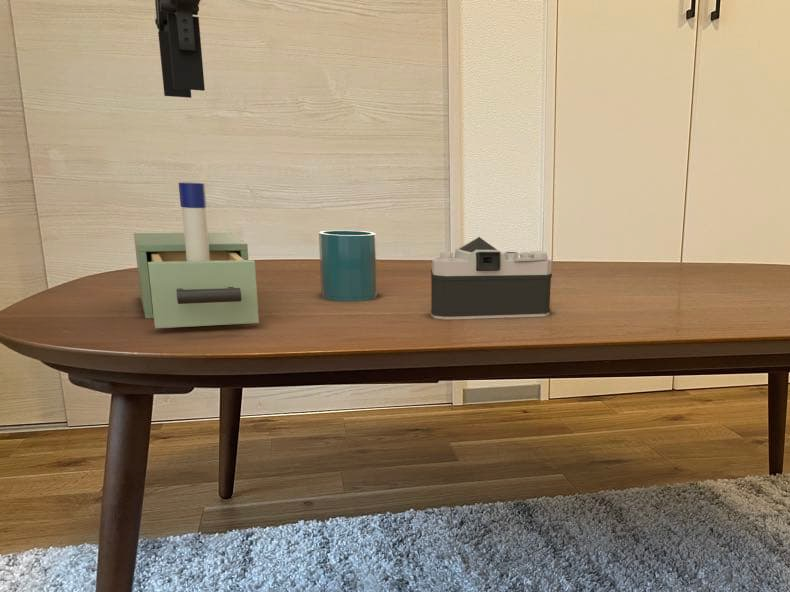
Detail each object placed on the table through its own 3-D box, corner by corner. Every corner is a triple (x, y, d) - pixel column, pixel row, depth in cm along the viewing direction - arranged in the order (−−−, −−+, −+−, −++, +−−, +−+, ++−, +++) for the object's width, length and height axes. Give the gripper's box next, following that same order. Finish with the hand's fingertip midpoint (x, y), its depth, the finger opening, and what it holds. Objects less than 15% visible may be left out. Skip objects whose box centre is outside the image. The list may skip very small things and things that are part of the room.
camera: (533, 307, 108) (536, 233, 105) (557, 319, 100) (561, 240, 97) (420, 310, 102) (420, 232, 99) (437, 323, 94) (437, 239, 91)
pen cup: (329, 304, 103) (326, 235, 101) (316, 295, 109) (313, 230, 107) (383, 302, 107) (382, 235, 104) (368, 293, 113) (366, 230, 110)
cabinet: (252, 315, 94) (247, 243, 92) (145, 320, 89) (137, 244, 86) (236, 297, 106) (231, 232, 103) (141, 300, 100) (133, 233, 98)
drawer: (265, 330, 82) (261, 266, 80) (157, 337, 78) (150, 268, 76) (242, 303, 96) (238, 248, 94) (149, 307, 92) (143, 249, 90)
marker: (191, 309, 86) (179, 183, 82) (188, 305, 88) (177, 182, 84) (216, 308, 87) (205, 183, 83) (213, 304, 89) (203, 182, 85)
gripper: (219, -179, 66) (238, 88, 73) (191, -101, 87) (208, 101, 93) (120, -201, 63) (149, 82, 69) (115, -115, 84) (138, 96, 90)
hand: (183, 93), depth 81 cm, fingers open, 13 cm apart
